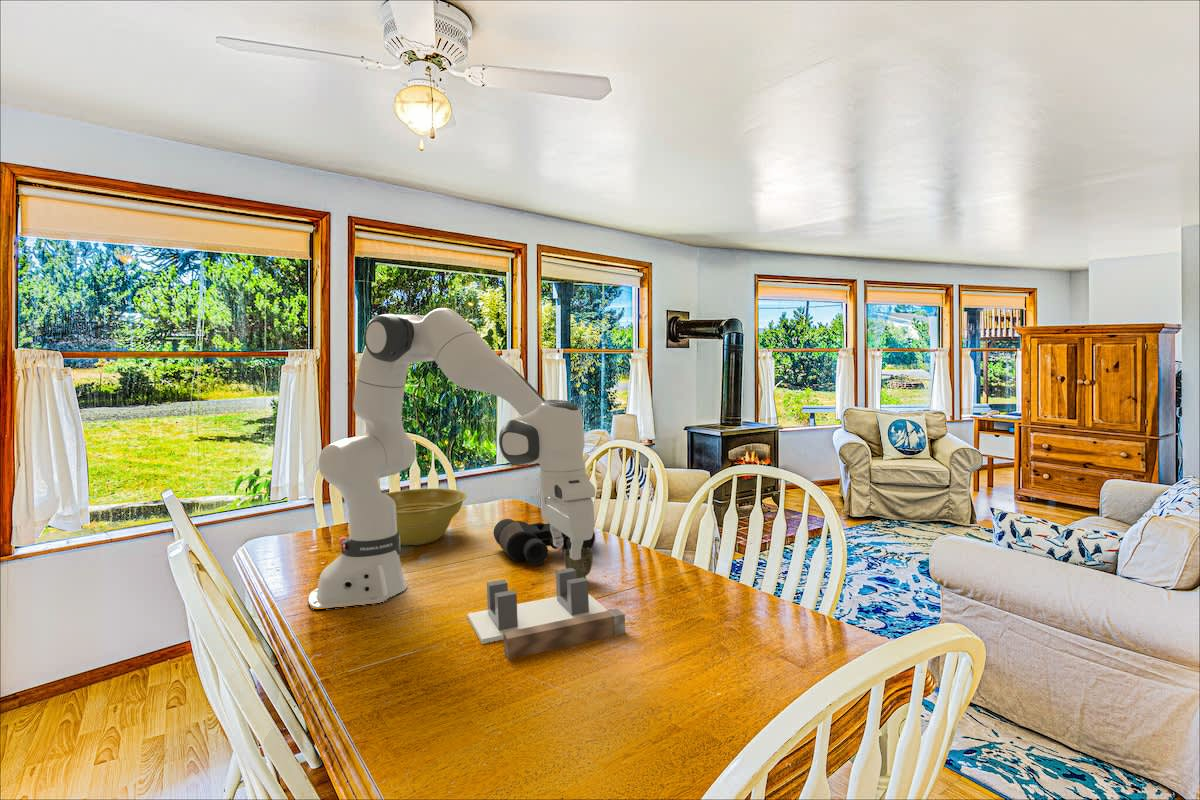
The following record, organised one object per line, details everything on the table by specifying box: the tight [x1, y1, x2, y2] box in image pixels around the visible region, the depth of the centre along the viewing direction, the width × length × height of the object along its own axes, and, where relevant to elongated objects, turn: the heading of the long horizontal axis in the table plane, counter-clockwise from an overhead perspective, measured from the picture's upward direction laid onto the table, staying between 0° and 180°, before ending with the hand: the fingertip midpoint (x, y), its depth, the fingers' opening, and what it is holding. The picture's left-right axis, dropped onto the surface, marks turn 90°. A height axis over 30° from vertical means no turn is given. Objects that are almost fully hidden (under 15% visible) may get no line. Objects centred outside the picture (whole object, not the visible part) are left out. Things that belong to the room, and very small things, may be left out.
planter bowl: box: [384, 488, 468, 546], centre depth 196 cm, size 32×32×13 cm
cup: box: [562, 547, 594, 579], centre depth 154 cm, size 8×7×8 cm
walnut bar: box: [503, 608, 626, 660], centre depth 121 cm, size 24×3×4 cm, turn 114°
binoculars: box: [493, 518, 596, 565], centre depth 178 cm, size 29×20×10 cm
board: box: [467, 568, 608, 645], centre depth 133 cm, size 28×14×8 cm, turn 114°
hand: (566, 552), depth 120 cm, fingers open, 8 cm apart
